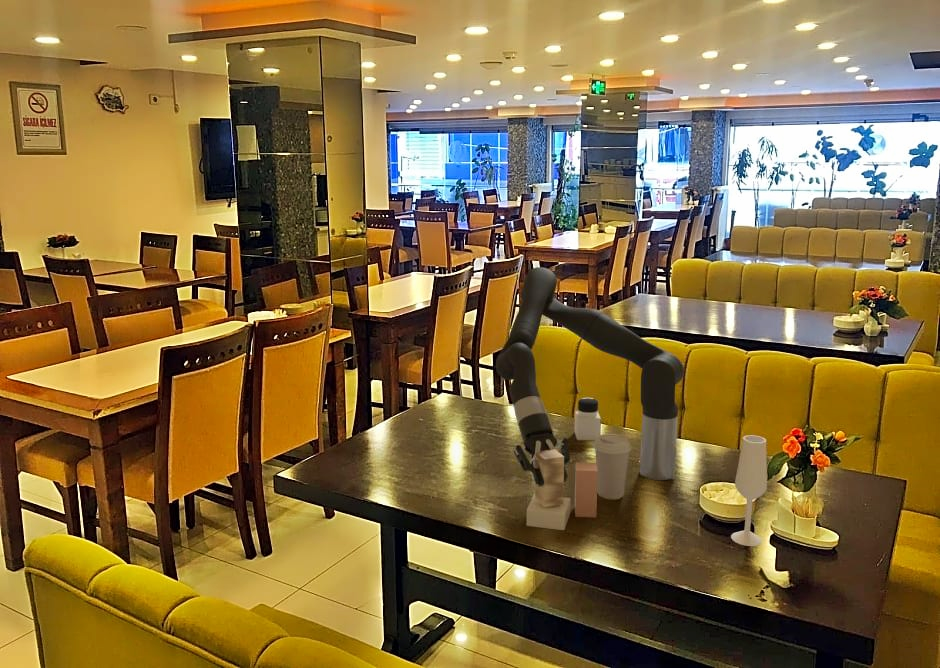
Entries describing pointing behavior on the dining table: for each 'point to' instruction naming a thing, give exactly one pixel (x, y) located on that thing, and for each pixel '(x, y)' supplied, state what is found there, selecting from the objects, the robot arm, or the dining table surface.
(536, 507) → the plinth
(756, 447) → the champagne flute
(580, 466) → the terracotta pillar
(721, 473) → the dining table surface
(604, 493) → the coffee cup
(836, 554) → the dining table surface
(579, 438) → the medicine bottle
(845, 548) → the dining table surface
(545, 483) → the maple pillar
